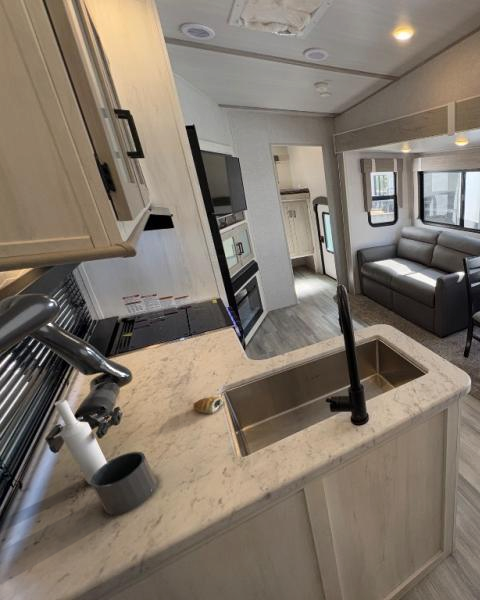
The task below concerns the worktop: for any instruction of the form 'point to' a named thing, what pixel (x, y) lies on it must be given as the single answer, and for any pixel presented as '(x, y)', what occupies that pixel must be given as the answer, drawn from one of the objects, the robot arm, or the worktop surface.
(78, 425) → the bottle
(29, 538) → the worktop surface
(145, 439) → the worktop surface
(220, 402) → the pastry
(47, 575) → the worktop surface
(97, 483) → the bowl
